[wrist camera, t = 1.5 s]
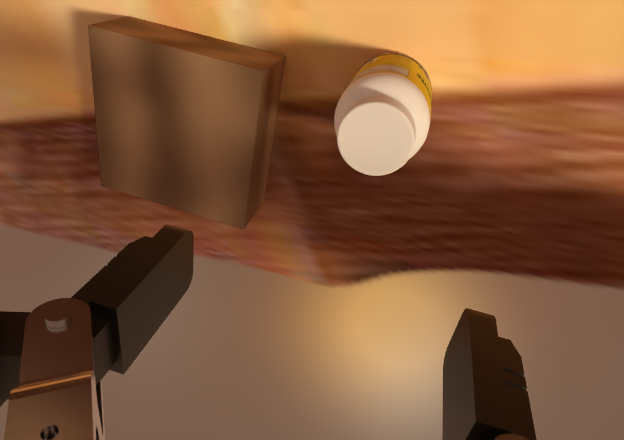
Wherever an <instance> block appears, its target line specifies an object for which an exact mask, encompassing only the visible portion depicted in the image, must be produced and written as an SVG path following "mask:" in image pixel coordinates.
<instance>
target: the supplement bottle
mask: <svg viewBox="0 0 624 440" xmlns="http://www.w3.org/2000/svg"><path fill="white" fill-rule="evenodd" d="M431 100H432V88H431V82H430V78H429V76H428V74H427V72H426V70H425V69H424V67H423V66H422V65H421V64H420V63H419V62H418V61H417V60H415V59H414V58H412V57H410V56H408V55H405V54H402V53H384V54H380V55H378V56H375V57H373V58H372V59H370V60H369V61H367V62H366V63H365V64H364V65H363V66H362V67H361V68H360V69H359V71H358V72H357V74H356V75H355V76H354V78H353V79H352V81H351V82H350V84H349V85H348V87H347V88H346V90H345V91H344V92H343V94H342V96H341V97H340V100H339V102H338V104H337V107H336V110H335V115H334V126H335V132H336V136H337V144H338V148H339V151H340V153H341V155H342V157H343V159H344V160H345V161H346V162H347V164H348V165H350V166H351V167H352V168H353V169H355V170H356V171H358V172H361V173H363V174H367V175H372V176H381V175H386V174H390V173H392V172H394V171H396V170H398V169H399V168H401V167H402V166H403V165H404V164H405V163H406V162H407V160H408V159H410V158H411V157H412V156H414V155H415V154H416V153H417V151H418V150H419V149H420V148H421V146H422V145H423V143H424V141H425V139H426V137H427V134H428V131H429V126H430V117H431Z"/></svg>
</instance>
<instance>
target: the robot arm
mask: <svg viewBox="0 0 624 440" xmlns="http://www.w3.org/2000/svg"><path fill="white" fill-rule="evenodd" d="M193 240H194V238H193V233H192V231H189V230H185V229H182V228H178V227H175V226H171V225H165V226H164V227H163V228H162V229H161V230H160V231H159V232H158V233H157V234H156V235H155V236H154V237H153V238H150V237H147V236H145V237H142V238H140V239H138V240H136V241H134V242H132V243H129V244H128V245H127V246H126V247H125V248H124V249H123V250H122V251H121V252H119V253H118V254H117V257H114V258H113V259H112V260H111V261H110V262H109V263H108V265H107V266H105V267H103V268H102V269H101V270H100V271H99V272H98V273H97V274H96V275H95V276H94V277H93V278H92V279H91V280H90V281H88V282H87V283H86V284H85V285H84V286H83V287H82V288H81V289H80V290H79V291H78V292H77V293H76V294H75V295H74V296H72V297H71V298H59V299H54V300H51V301H48V302H45V303H43V304H41V305H39V306H38V307H36V308H35V309H34V310H33V311H32V312H1V311H0V406H1V405H2V404H3V403H4V402H5V401H6V400H7V399H9V402H8V410H7V419H6V426H5V434H4V440H105V432H104V415H103V400H102V399H103V398H102V383H101V379H102V378H103V377H104V375H105V374H106V373H107V372H108V371H109V370H112V371H115V372H118V373H121V374H124V373H125V372H126V371H127V369H128V368H129V367H130V365H131V364H132V363H133V361H134V360H135V359H136V358H137V356H138V355H139V354H140V352H141V351H142V350H143V348H144V347H145V346H146V344H147V343H148V341H149V340H150V339H151V338H152V336H153V335H154V334H155V332H156V331H157V330H158V328H159V327H160V326H161V324H162V323H163V321H164V320H165V319H166V318H167V316H168V315H169V314H170V312H171V311H172V310H173V308H174V307H175V306H176V304H177V303H178V302H179V300H180V299H181V298H182V296H183V295H184V294H185V292H186V291H187V289H188V288H189V285H190V283H191V280H192V276H193ZM526 388H527V386H526V381H525V377H524V370H523V365H522V359H521V356H520V354H519V353H518V352H517V350H516V348H515V347H514V345H513V344H512V342H511V340H508V339H505V338H501V337H498V332H497V326H496V319H495V317H494V316H493V315H489V314H485V313H482V312H478V311H475V310H471V309H465V310H464V312H463V313H462V316H461V318H460V320H459V322H458V325H457V327H456V329H455V331H454V334H453V336H452V338H451V341H450V343H449V345H448V347H447V350H446V354H445V358H444V364H443V440H536V435H535V430H534V424H533V419H532V413H531V408H530V403H529V397H528V392H527V391H526Z"/></svg>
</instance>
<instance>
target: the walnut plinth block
mask: <svg viewBox="0 0 624 440" xmlns="http://www.w3.org/2000/svg"><path fill="white" fill-rule="evenodd" d="M88 29H89V42H90V54H91V67H92V79H93V92H94V104H95V117H96V129H97V142H98V154H99V167H100V179H101V186H103V187H106V188H109V189H113V190H116V191H119V192H123V193H126V194H129V195H133V196H136V197H139V198H142V199H146V200H149V201H152V202H156V203H159V204H162V205H165V206H169V207H172V208H175V209H179V210H182V211H185V212H188V213H192V214H195V215H198V216H202V217H205V218H208V219H212V220H215V221H218V222H221V223H225V224H228V225H231V226H235V227H238V228H241V229H245V227H246V226H247V224H248V223H249V222H250V220H251V219H252V217H253V216H254V215H255V213H256V212H257V211H258V209H259V208H260V206H261V205H262V204H263V202H264V201H265V194H266V187H267V180H268V173H269V166H270V159H271V153H272V146H273V139H274V132H275V125H276V118H277V112H278V105H279V98H280V91H281V84H282V77H283V71H284V64H285V57H286V56H283V55H279V54H275V53H271V52H267V51H264V50H260V49H256V48H252V47H248V46H244V45H240V44H236V43H232V42H228V41H224V40H220V39H216V38H212V37H209V36H205V35H201V34H197V33H193V32H189V31H185V30H181V29H177V28H173V27H169V26H165V25H161V24H157V23H154V22H150V21H146V20H142V19H138V18H134V17H125V18H120V19H116V20H111V21H107V22H102V23H97V24H93V25H88Z"/></svg>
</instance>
